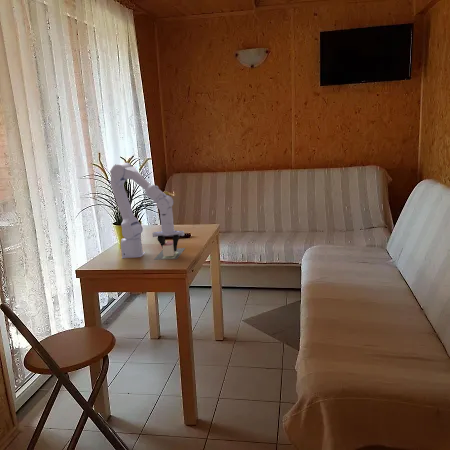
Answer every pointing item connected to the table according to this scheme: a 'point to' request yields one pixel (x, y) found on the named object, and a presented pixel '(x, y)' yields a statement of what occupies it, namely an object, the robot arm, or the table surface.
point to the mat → (176, 255)
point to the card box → (168, 249)
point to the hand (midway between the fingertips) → (170, 251)
